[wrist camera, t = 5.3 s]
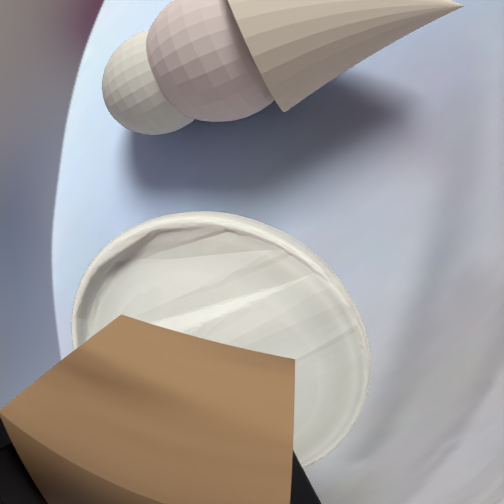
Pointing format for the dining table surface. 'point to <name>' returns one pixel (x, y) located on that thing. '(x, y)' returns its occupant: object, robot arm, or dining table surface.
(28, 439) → the walnut cube
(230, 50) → the ice cream cone
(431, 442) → the dining table surface
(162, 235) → the ramekin
